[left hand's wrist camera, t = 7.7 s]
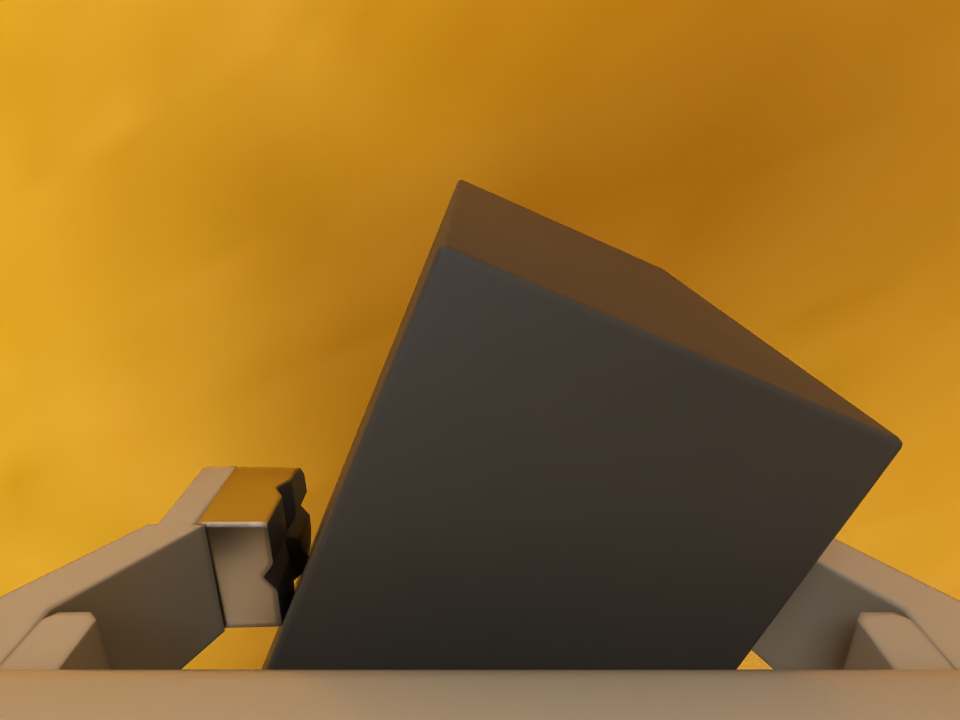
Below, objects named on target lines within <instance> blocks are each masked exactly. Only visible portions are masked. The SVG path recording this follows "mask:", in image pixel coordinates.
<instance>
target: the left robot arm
mask: <svg viewBox="0 0 960 720" xmlns="http://www.w3.org/2000/svg"><path fill="white" fill-rule="evenodd" d="M306 492H307V490H306V483H305V477H304V473H303V472H302V470H301V469H300V468H274V467H237V466H228V467H207V468H203V469H202V470H201V472H200V473H199V474H198V475H197V477H196V478H195V479H194V480H193V482H192V483H191V484H190V485H189V487H188V488H187V489H186V490H185V492H184V493H183V494H182V495H181V497H180V498H179V499H178V500H177V502H176V503H175V504H174V505H173V506H172V508H171V509H170V510H169V511H168V513H167V514H166V515H165V516H164V518H163V519H162V520H161V521H160V523H159V524H158V525H146V526H144V527H142V528H140V529H138V530H136V531H134V532H132V533H130V534H128V535H126V536H124V537H122V538H120V539H118V540H116V541H114V542H112V543H109V544H107V545H105V546H103V547H101V548H99V549H97V550H95V551H93V552H91V553H89V554H87V555H85V556H83V557H81V558H79V559H77V560H75V561H73V562H71V563H69V564H67V565H65V566H63V567H61V568H59V569H57V570H55V571H52V572H50V573H48V574H46V575H44V576H42V577H40V578H38V579H36V580H34V581H32V582H30V583H28V584H26V585H24V586H22V587H20V588H18V589H16V590H14V591H12V592H10V593H8V594H6V595H4V596H2V597H0V720H960V601H959V600H957V599H955V598H953V597H951V596H949V595H947V594H945V593H943V592H941V591H939V590H937V589H935V588H933V587H931V586H929V585H927V584H925V583H923V582H921V581H919V580H917V579H915V578H913V577H911V576H909V575H907V574H905V573H903V572H901V571H899V570H897V569H895V568H893V567H891V566H889V565H887V564H885V563H883V562H881V561H879V560H877V559H875V558H873V557H871V556H869V555H867V554H865V553H862V552H860V551H858V550H856V549H854V548H852V547H850V546H848V545H846V544H844V543H842V542H840V541H838V540H836V539H833V540H832V542H831V543H830V544H829V546H828V547H827V548H826V550H825V551H824V552H823V554H822V555H821V556H820V558H819V559H818V560H817V562H816V563H815V565H814V566H813V567H812V569H811V570H810V571H809V573H808V574H807V575H806V577H805V578H804V579H803V581H802V582H801V583H800V585H799V586H798V587H797V589H796V590H795V591H794V593H793V594H792V595H791V597H790V598H789V599H788V601H787V602H786V603H785V605H784V606H783V608H782V609H781V610H780V612H779V613H778V614H777V616H776V617H775V618H774V620H773V621H772V622H771V624H770V625H769V626H768V628H767V629H766V630H765V632H764V633H763V634H762V636H761V637H760V638H759V640H758V641H757V642H756V644H755V645H754V646H753V648H752V649H751V650H752V651H754V652H755V653H756V654H757V655H758V656H759V657H760V658H761V659H763V660H764V661H765V662H766V663H767V664H768V665H769V666H771V667H772V668H773V669H774V670H181V669H182V668H183V667H184V666H185V665H186V664H188V663H189V662H190V661H191V660H192V659H193V658H194V657H196V656H197V655H198V654H199V653H200V652H201V651H202V650H204V649H205V648H206V647H207V646H208V645H209V644H210V643H212V642H213V641H214V640H215V639H216V638H217V637H218V636H219V635H221V634H222V633H223V632H224V631H225V629H224V628H237V627H272V626H282V624H283V621H284V619H285V616H286V614H287V611H288V608H289V606H290V603H291V601H292V598H293V596H294V593H295V589H294V581H293V580H295V579H296V578H298V577H299V576H300V575H302V572H303V570H304V567H305V565H306V562H307V560H308V557H309V551H310V545H311V524H310V515H309V514H308V513H307V512H306V511H305V510H304V509H303V507H302V506H301V503H302V501H303V499H304V497H305V494H306Z"/></svg>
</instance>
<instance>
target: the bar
mask: <svg viewBox="0 0 960 720" xmlns="http://www.w3.org/2000/svg"><path fill="white" fill-rule="evenodd" d="M901 447H902V442H901V440H900V439H899V438H898V437H897V436H896V435H894V434H893V433H891V432H890V431H889V430H887V429H886V428H884V427H883V426H882V425H880V424H879V423H877V422H876V421H875V420H873V419H872V418H870V417H869V416H868V415H866V414H865V413H863V412H862V411H861V410H859V409H858V408H856V407H855V406H854V405H852V404H851V403H849V402H848V401H847V400H845V399H844V398H842V397H841V396H840V395H838V394H837V393H835V392H834V391H833V390H831V389H830V388H828V387H827V386H826V385H824V384H823V383H821V382H820V381H819V380H817V379H816V378H814V377H813V376H812V375H810V374H809V373H807V372H806V371H805V370H803V369H802V368H800V367H799V366H798V365H796V364H795V363H793V362H792V361H791V360H789V359H788V358H786V357H785V356H784V355H782V354H781V353H779V352H778V351H777V350H775V349H774V348H772V347H771V346H770V345H768V344H767V343H765V342H764V341H763V340H761V339H760V338H758V337H757V336H756V335H754V334H753V333H751V332H750V331H749V330H747V329H746V328H744V327H743V326H742V325H740V324H739V323H737V322H736V321H734V320H733V319H732V318H730V317H729V316H727V315H726V314H725V313H723V312H722V311H720V310H719V309H718V308H716V307H715V306H713V305H712V304H711V303H709V302H708V301H706V300H705V299H704V298H702V297H701V296H699V295H698V294H697V293H695V292H694V291H692V290H691V289H690V288H688V287H687V286H685V285H684V284H683V283H681V282H680V281H678V280H677V279H676V278H674V277H673V276H671V275H670V274H669V273H667V272H666V271H664V270H663V269H661V268H659V267H657V266H654V265H652V264H650V263H648V262H645V261H643V260H641V259H639V258H636V257H634V256H632V255H630V254H627V253H625V252H623V251H621V250H618V249H616V248H614V247H612V246H609V245H607V244H605V243H603V242H600V241H598V240H596V239H594V238H591V237H589V236H587V235H585V234H582V233H580V232H578V231H576V230H573V229H571V228H569V227H567V226H564V225H562V224H560V223H558V222H555V221H553V220H551V219H549V218H546V217H544V216H542V215H540V214H537V213H535V212H533V211H531V210H528V209H526V208H524V207H522V206H519V205H517V204H515V203H513V202H510V201H508V200H506V199H504V198H502V197H499V196H497V195H495V194H493V193H490V192H488V191H486V190H484V189H481V188H479V187H477V186H475V185H472V184H470V183H468V182H466V181H463V180H460V181H459V182H458V183H457V186H456V188H455V190H454V193H453V195H452V198H451V200H450V203H449V205H448V208H447V210H446V213H445V215H444V218H443V220H442V223H441V225H440V228H439V230H438V233H437V235H436V238H435V240H434V243H433V245H432V248H431V250H430V253H429V255H428V258H427V260H426V263H425V265H424V267H423V270H422V272H421V275H420V277H419V280H418V282H417V285H416V287H415V290H414V292H413V295H412V297H411V300H410V302H409V305H408V307H407V310H406V312H405V315H404V317H403V320H402V322H401V325H400V327H399V330H398V332H397V335H396V337H395V339H394V342H393V344H392V347H391V349H390V352H389V354H388V357H387V359H386V362H385V364H384V367H383V369H382V372H381V374H380V377H379V379H378V382H377V384H376V387H375V389H374V392H373V394H372V397H371V399H370V402H369V404H368V407H367V409H366V411H365V414H364V416H363V419H362V421H361V424H360V426H359V429H358V431H357V434H356V436H355V439H354V441H353V444H352V446H351V449H350V451H349V454H348V456H347V459H346V461H345V464H344V466H343V469H342V471H341V474H340V476H339V479H338V481H337V483H336V486H335V488H334V491H333V493H332V496H331V498H330V501H329V503H328V506H327V508H326V511H325V513H324V516H323V518H322V521H321V523H320V526H319V528H318V531H317V533H316V536H315V538H314V541H313V543H312V546H311V548H310V551H309V557H308V560H307V562H306V565H305V567H304V570H303V572H302V575H300V576H299V578H298V580H297V583H296V585H295V588H294V589H295V593H294V596H293V598H292V601H291V603H290V606H289V608H288V611H287V614H286V616H285V619H284V621H283V624H282V626H279V627H278V630H277V632H276V635H275V637H274V640H273V642H272V645H271V647H270V650H269V652H268V655H267V657H266V660H265V662H264V665H263V667H262V670H736V669H737V668H738V667H739V665H740V664H741V663H742V661H743V660H744V659H745V657H746V656H747V655H748V653H749V652H750V651H751V649H752V648H753V646H754V645H755V644H756V642H757V641H758V640H759V638H760V637H761V636H762V634H763V633H764V632H765V630H766V629H767V628H768V626H769V625H770V624H771V622H772V621H773V620H774V618H775V617H776V616H777V614H778V613H779V612H780V610H781V609H782V608H783V606H784V605H785V603H786V602H787V601H788V599H789V598H790V597H791V595H792V594H793V593H794V591H795V590H796V589H797V587H798V586H799V585H800V583H801V582H802V581H803V579H804V578H805V577H806V575H807V574H808V573H809V571H810V570H811V569H812V567H813V566H814V565H815V563H816V562H817V560H818V559H819V558H820V556H821V555H822V554H823V552H824V551H825V550H826V548H827V547H828V546H829V544H830V543H831V542H832V540H833V539H834V538H835V536H836V535H837V534H838V532H839V531H840V530H841V528H842V527H843V526H844V524H845V523H846V521H847V520H848V519H849V517H850V516H851V515H852V513H853V512H854V511H855V509H856V508H857V507H858V505H859V504H860V503H861V501H862V500H863V499H864V497H865V496H866V495H867V493H868V492H869V491H870V489H871V488H872V487H873V485H874V484H875V483H876V481H877V480H878V478H879V477H880V476H881V474H882V473H883V472H884V470H885V469H886V468H887V466H888V465H889V464H890V462H891V461H892V460H893V458H894V457H895V456H896V454H897V453H898V452H899V450H900V449H901Z"/></svg>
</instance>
